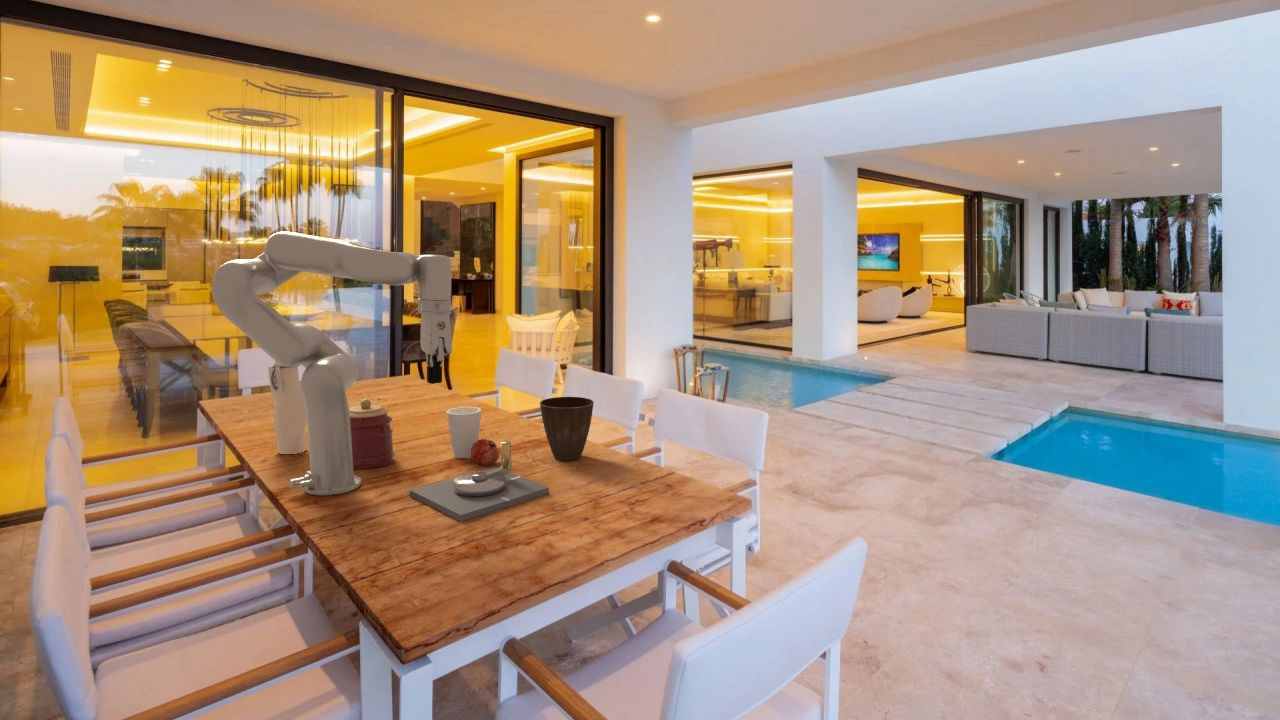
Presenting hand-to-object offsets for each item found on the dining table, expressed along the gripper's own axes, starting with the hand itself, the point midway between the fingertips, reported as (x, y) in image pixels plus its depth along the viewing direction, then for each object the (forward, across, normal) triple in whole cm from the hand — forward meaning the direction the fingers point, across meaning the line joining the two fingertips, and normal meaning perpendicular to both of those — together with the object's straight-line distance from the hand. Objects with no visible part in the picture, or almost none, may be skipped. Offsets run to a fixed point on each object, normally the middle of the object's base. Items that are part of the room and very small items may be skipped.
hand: (434, 382), depth 164 cm
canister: (+27, +27, +10) cm, 39 cm away
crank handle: (+23, -13, -9) cm, 28 cm away
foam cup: (+26, +19, -15) cm, 35 cm away
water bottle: (+28, +49, +26) cm, 62 cm away
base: (+25, -14, -7) cm, 29 cm away
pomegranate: (+26, +8, -16) cm, 31 cm away
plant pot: (+24, +2, -38) cm, 45 cm away
